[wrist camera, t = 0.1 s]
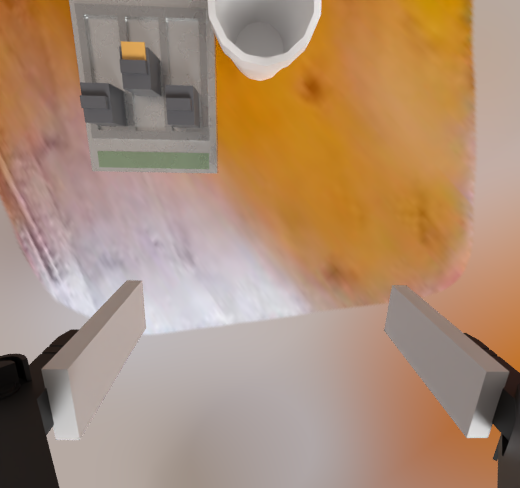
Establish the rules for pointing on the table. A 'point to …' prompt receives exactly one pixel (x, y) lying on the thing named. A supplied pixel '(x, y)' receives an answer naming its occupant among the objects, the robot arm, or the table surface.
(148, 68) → the breaker
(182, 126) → the block
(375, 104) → the table surface
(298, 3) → the foam cup
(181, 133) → the panel
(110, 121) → the breaker
